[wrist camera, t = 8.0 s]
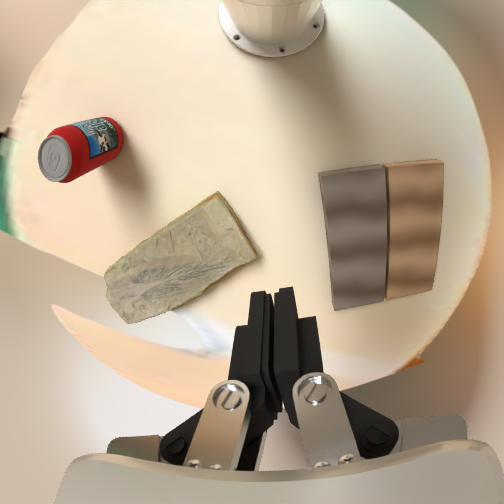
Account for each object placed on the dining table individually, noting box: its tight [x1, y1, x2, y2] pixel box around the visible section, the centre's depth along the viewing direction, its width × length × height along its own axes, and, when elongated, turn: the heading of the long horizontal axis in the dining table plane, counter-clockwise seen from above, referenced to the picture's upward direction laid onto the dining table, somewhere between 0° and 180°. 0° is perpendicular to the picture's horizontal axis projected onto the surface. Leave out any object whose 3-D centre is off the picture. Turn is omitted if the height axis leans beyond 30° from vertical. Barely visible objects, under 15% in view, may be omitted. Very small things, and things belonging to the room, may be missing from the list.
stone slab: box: [104, 191, 257, 324], centre depth 43 cm, size 12×4×30 cm
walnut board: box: [383, 159, 444, 300], centre depth 37 cm, size 22×9×2 cm, turn 13°
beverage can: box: [38, 117, 123, 183], centre depth 28 cm, size 7×7×12 cm
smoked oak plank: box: [318, 165, 387, 311], centre depth 38 cm, size 22×9×2 cm, turn 13°
